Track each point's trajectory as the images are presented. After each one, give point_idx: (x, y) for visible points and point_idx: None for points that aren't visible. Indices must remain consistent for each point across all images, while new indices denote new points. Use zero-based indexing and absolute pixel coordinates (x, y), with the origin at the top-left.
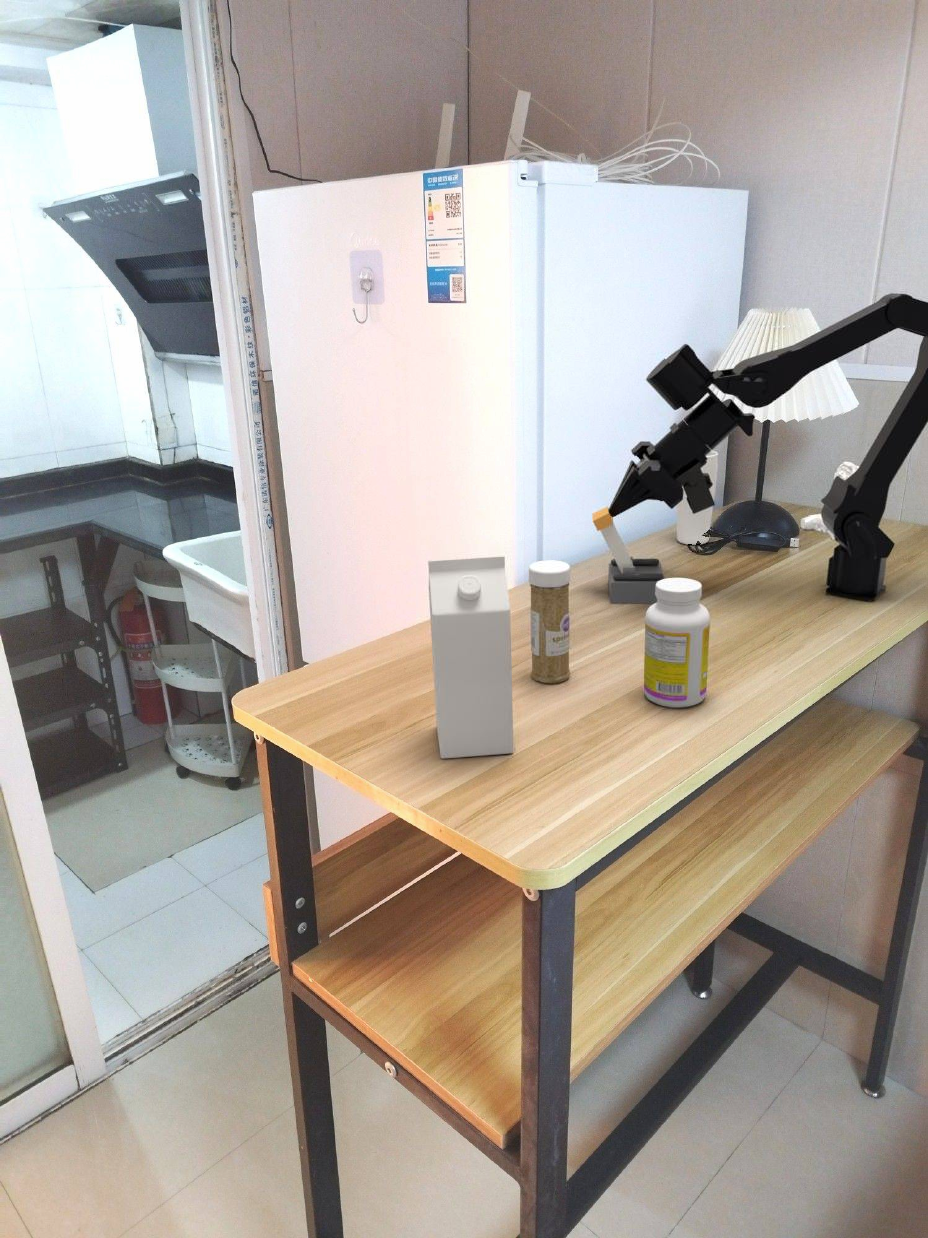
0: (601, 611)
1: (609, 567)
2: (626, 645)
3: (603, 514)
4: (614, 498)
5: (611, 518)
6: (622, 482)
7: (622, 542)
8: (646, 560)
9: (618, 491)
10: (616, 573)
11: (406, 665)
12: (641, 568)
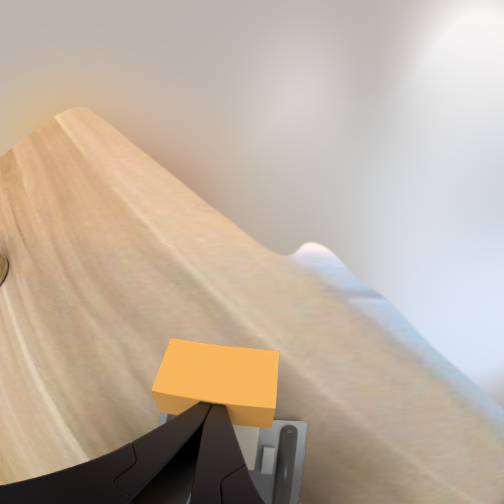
0: (137, 380)
1: (274, 420)
2: (23, 372)
3: (178, 376)
4: (205, 429)
5: (172, 407)
6: (201, 485)
7: (244, 451)
8: (275, 502)
9: (200, 452)
10: (172, 418)
11: (69, 163)
12: (256, 487)
